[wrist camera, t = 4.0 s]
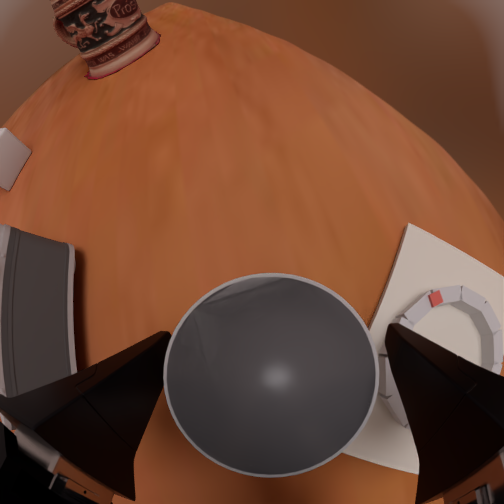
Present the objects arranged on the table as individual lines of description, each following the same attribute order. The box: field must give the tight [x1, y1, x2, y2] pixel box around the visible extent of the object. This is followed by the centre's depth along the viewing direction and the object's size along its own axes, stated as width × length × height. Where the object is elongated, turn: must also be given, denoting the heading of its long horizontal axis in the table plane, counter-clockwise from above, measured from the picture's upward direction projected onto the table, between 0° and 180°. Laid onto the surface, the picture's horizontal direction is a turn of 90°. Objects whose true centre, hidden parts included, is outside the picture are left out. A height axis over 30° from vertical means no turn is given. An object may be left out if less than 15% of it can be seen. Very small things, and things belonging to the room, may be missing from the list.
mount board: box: [342, 223, 504, 474], centre depth 14 cm, size 16×12×3 cm
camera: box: [0, 224, 77, 430], centre depth 16 cm, size 9×16×10 cm, turn 9°
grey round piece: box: [163, 273, 379, 478], centre depth 12 cm, size 6×6×11 cm
